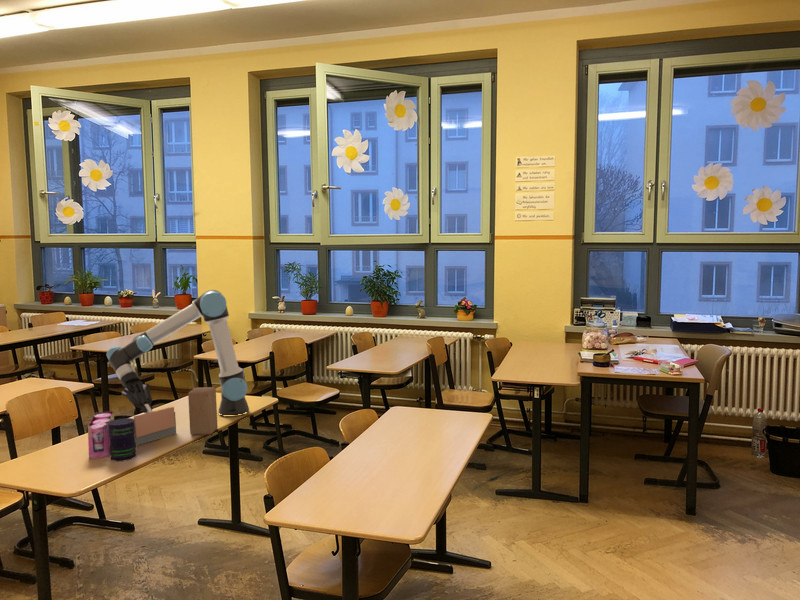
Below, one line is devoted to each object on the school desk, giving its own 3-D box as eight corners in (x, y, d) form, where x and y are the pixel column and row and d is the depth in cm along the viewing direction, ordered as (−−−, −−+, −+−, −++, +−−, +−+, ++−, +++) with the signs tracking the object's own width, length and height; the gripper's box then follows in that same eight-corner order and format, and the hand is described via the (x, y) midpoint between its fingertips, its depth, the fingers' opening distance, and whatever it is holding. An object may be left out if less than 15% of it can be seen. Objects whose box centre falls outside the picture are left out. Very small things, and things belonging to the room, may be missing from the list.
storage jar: (113, 463, 245) (111, 426, 244) (107, 457, 253) (104, 421, 251) (139, 457, 252) (137, 421, 250) (132, 451, 259) (130, 416, 258)
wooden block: (211, 435, 280) (209, 391, 278) (189, 435, 280) (187, 392, 278) (218, 428, 290) (216, 386, 288) (197, 428, 290) (195, 387, 288)
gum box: (109, 457, 252) (107, 425, 251) (88, 460, 250) (85, 427, 248) (116, 440, 275) (114, 410, 274) (96, 442, 272) (94, 412, 271)
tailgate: (173, 425, 281) (172, 406, 281) (174, 426, 281) (173, 406, 280) (134, 437, 266) (133, 416, 265) (136, 437, 265) (135, 417, 264)
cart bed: (164, 430, 288) (163, 409, 287) (176, 433, 283) (175, 412, 282) (119, 443, 270) (118, 421, 269) (131, 447, 265) (130, 424, 264)
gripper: (138, 378, 289) (161, 418, 281) (111, 384, 278) (135, 425, 270) (144, 368, 285) (168, 408, 277) (117, 373, 274) (141, 415, 266)
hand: (151, 417), depth 274 cm, fingers closed
